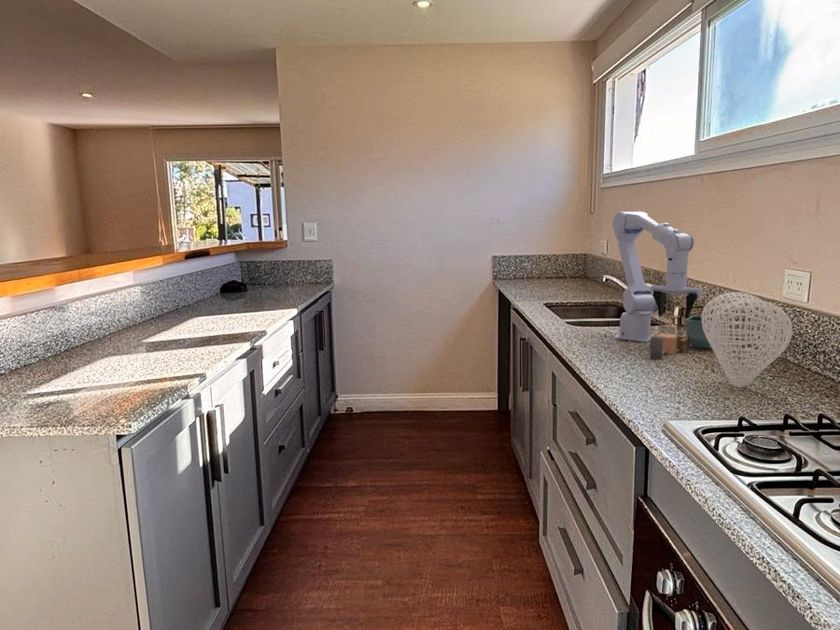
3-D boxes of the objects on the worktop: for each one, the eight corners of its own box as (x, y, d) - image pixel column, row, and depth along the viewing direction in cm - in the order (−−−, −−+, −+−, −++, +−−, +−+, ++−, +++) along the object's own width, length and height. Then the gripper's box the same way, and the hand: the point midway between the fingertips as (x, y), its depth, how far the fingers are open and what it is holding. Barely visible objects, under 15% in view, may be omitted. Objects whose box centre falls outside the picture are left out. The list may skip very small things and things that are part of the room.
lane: (649, 348, 180) (650, 337, 179) (656, 343, 186) (657, 333, 185) (683, 352, 174) (684, 341, 173) (689, 347, 180) (690, 336, 179)
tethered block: (645, 357, 167) (646, 337, 166) (659, 349, 178) (660, 330, 177) (663, 360, 164) (664, 339, 163) (676, 351, 175) (677, 332, 174)
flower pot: (714, 351, 176) (716, 322, 174) (683, 347, 181) (685, 319, 179) (719, 346, 182) (722, 318, 181) (690, 342, 188) (692, 315, 186)
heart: (692, 370, 153) (698, 288, 149) (756, 374, 149) (764, 290, 145) (715, 402, 126) (723, 303, 122) (795, 407, 122) (805, 305, 118)
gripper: (648, 272, 175) (645, 316, 177) (699, 275, 166) (696, 320, 169) (654, 271, 181) (652, 313, 183) (704, 273, 172) (701, 317, 174)
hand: (673, 316), depth 176 cm, fingers open, 7 cm apart
